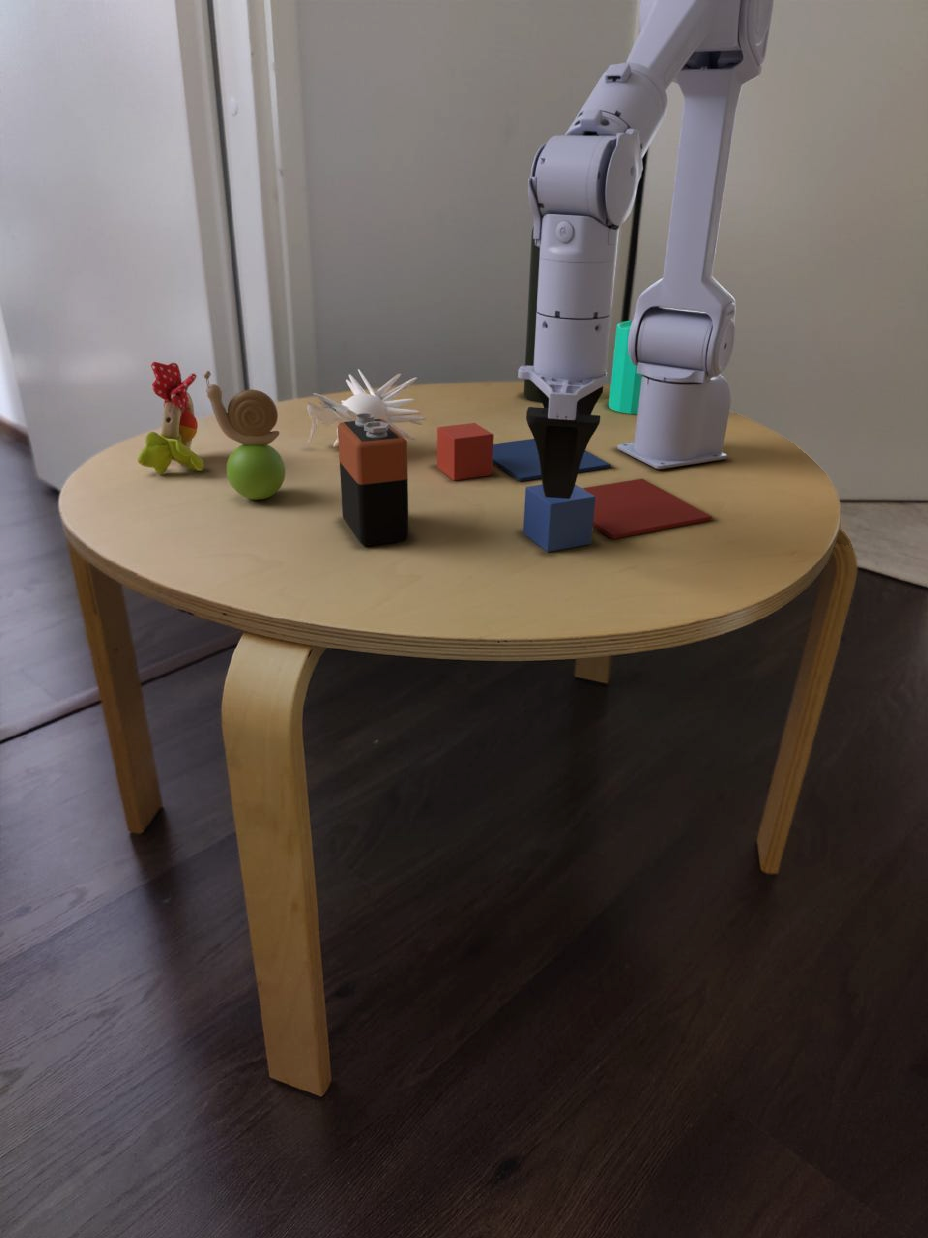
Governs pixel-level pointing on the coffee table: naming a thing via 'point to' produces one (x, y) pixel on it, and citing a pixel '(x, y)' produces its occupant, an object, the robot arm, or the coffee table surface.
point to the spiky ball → (365, 407)
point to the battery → (373, 480)
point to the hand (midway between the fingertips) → (560, 480)
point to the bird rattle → (172, 422)
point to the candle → (624, 374)
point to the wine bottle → (532, 319)
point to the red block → (464, 451)
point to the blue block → (558, 518)
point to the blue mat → (533, 460)
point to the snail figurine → (250, 441)
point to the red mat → (639, 509)
